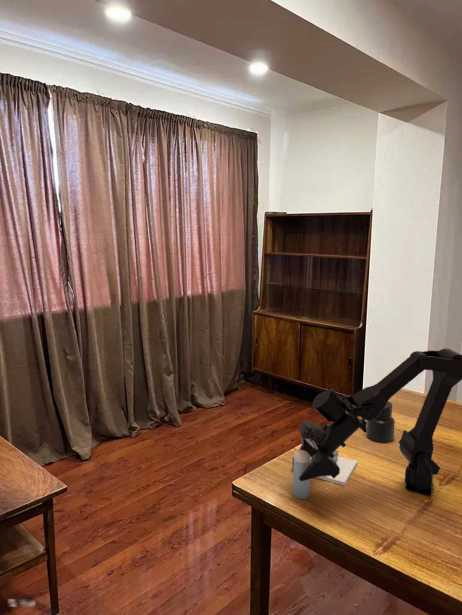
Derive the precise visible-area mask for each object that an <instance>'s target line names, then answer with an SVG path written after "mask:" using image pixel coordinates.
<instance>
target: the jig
mask: <svg viewBox="0 0 462 615" xmlns="http://www.w3.org/2000/svg"><path fill="white" fill-rule="evenodd" d="M333 454H334V455H335V456H334V457H333V458H332V459H333V460H334V461H336V463H337V465H338V466H339V468H340V474H339V475H337V476H336V477H335V478H333V477H331V476H328V475H325V476H320V477H316V479H318V480H319V479H320V480H324V481H326V482H330V483H334V484H337V485H341V486H343V487H345V486H346V484H347V482H348V481H349V479H350V477H351V476H352V474H353V472H354V470H355V468H356V467H357V465H358V460H354V459H351V458H346V457H342V456H339V451H338V450H336V451H335V452H334V453H333ZM315 456H316V454H315V455H314V456H313V457H314V458H315ZM310 458H311V457H310ZM293 460H294V456H292V461H293ZM310 464H311V462H310ZM292 468H294V464H293V463H292Z"/></svg>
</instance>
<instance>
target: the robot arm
mask: <svg viewBox="0 0 462 615" xmlns="http://www.w3.org/2000/svg"><path fill="white" fill-rule="evenodd" d="M424 371H432V381H431V383H430V386H429V389H428V391H427V394H426V396H425V399H424V402H423V404H422V406H421V408H420V412H419V415H418V416H417V419H416V422H415V425H414V426H413V428H412V429H410V430H409V431H407V430H403V431H402V435H401V438H400V440H398V444H399V451H400V453H401V454H402V455H403V456H404V458H405V459H406V460H407V461H408V465H407V466H406V468H405V473H404V484H405V488H404V489H405V490H406V491H409V492H414V493H416V494H417V493H418V494H420V495H421V494H422V495H424V496H428V497H431V496H432V493H433V489H434V484H435V483H434V476H435V475H439V474H438V473H440V472H439V471H440V468H441V467H440V466H439V465H438V464H437V462H436V461H434V460H433V459H432V458H433V452H434V440H433V437H434V434H435V432H436V428H437V426H438V424H439V421H440V420H441V415H442V413H443V411H444V409H445V407H446V404H447V401H448V400H449V396H450V394H451V392H452V390H453V388H454V386H456V385H458V383H460V382H461V381H462V354H460V353H458V352H457V351H454V350H453V349H450V348H441V349H440V350H424V351H420V350H416V351H413V352H411V354H409V357H407V358H406V359H405V360H403V361H402V362H401V363H400V364H399V365H398V366H396V367H395V368H394V369H393V370H391V372H389V373H388V374H387V375H386V376H384V377H383V378H382V379H381V380H379V381H378V382H377V383H375V384H374V385H371V386H367V387H364V388H363V389H361V390H359V391H357V392H356V393H354V394H353V395H346V396H342V397H340V396H339V395H338V394H337V393H336V391H335V390H334V389H333V388H332V387H330V388H329V389H327V390H324V391H322V392H320V393H318V394H317V395H316V396H315V397H314V399H313V401H312V404H311V405H312V408H313V409H314V410H315V411H316V412H318V413H319V414H320V415H321V416H322V417H323V419H325V420H326V421H327V422H330V423H329V424H328V423H324V424H321V425H318V424H317V423H314V422H312V421H309V420H307V419H303V420H302V422H301V424H300V426H299V428H298V431H299V433H300V436H301V446H300V447H299V449H298V451H299V450H304V451H306V452H308V453H309V455H310V457H311V464H310V465H309V466H308V467H307V468H306V470H305V471H304V472H303V473H302V474H301V476H300V477H299V480H300V481H305V480H308V479H310V480H311V479H315V478H316V477H320V476H325V475H328V476H331V477H333V478H335V477H336V476H337V475H339V474H340V468H339V466H338V465H337V463H336V461H334V460H333V459H332V458H333V457H334V456H335V455H334V454H333V453H334V452H335V451H338V449H339V448H340V447H342V448H345V447H346V446H347V444H346V443H345V442H346V441H347V440H348V439H350V437H351V436H353V434H355V433H356V432H357V430H359V429H360V430H361V431H362V432H363V433H366V432H367V420H370V421H371V420H374V419H375V418H377V417H378V415H379V414H380V413H381V412H382V411H383V410H384V409H385V407H386V404H387V402H389V401H390V399H391V398H393V397H394V396H395V395H396V394H397V393H398V392H400V391H401V390H402V389H403V388H404V387H405V386H406V385H408V384H409V383H410V382H412V381H413V380H414V379H415V378H416V377H418V376H419V375H420V374H422V373H423V372H424ZM315 454H316V456H315V458H314V457H313V456H314V455H315ZM293 464H294V460H293V459H292V465H293ZM316 479H317V478H316Z"/></svg>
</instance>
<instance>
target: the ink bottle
mask: <svg viewBox="0 0 462 615" xmlns="http://www.w3.org/2000/svg"><path fill="white" fill-rule="evenodd" d="M366 422H367V424H366V428H367V432H366V437H367V438H368V439H370V440H372V441H375V442H378V443H389V442H391V441H393V440H394V439H395V427H396V424H395V423H396V421H395V419H394V418H393V403H392V402H390V401H388V402H387V404H386V407H385V409H384V410H383V411H382V412H381V413H380V414H379V415H378V417H377V418H375V419H374V420H371V421H370V420H366Z"/></svg>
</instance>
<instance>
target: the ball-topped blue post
mask: <svg viewBox="0 0 462 615" xmlns="http://www.w3.org/2000/svg"><path fill="white" fill-rule="evenodd" d="M293 457H294V467H293V475H292V477H293V483H292V486H293V487H292V494H293V496H294V498H297V499H299V500H305V499H308V498H310V494H311V490H310V489H311V479H308V480H305V481H300V480H299V477H300V476H301V474H302V473H303V472H304V471H305V470H306V468H307V467H308V466H309V465H310V462H311V458H310V455H309V453H308V452H306V451H304V450H299V449H298V450H297V451H296V452H295V453H294V455H293Z"/></svg>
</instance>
